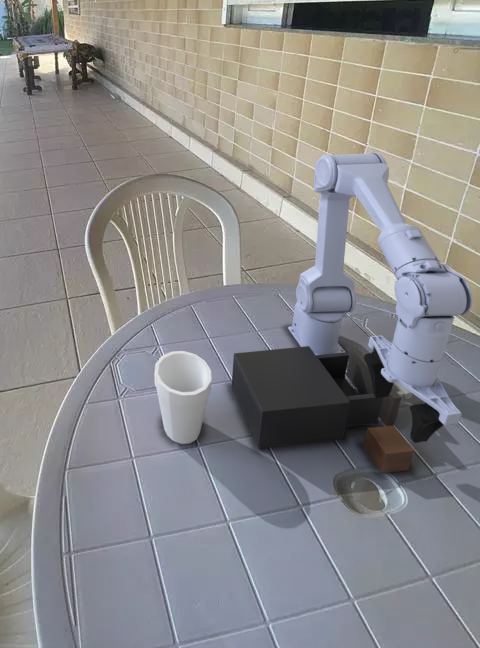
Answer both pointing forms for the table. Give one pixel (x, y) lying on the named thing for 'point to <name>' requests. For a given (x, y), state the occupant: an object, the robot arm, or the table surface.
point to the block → (388, 449)
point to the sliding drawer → (362, 389)
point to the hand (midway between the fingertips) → (398, 416)
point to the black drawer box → (288, 397)
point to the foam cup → (182, 394)
